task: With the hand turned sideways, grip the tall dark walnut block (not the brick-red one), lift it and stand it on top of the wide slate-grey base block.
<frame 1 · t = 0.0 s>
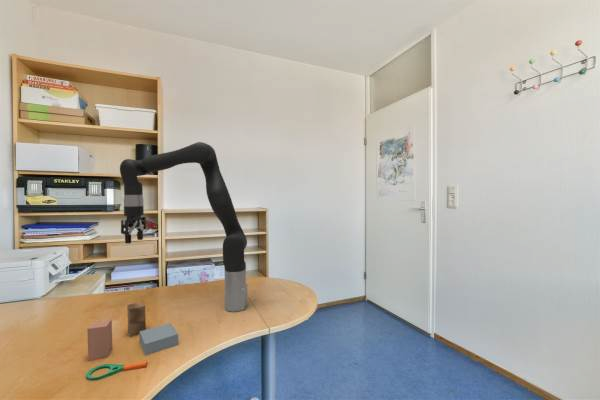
hand: (134, 241, 123), 29 cm above the table, tool pointing down, fingers open, 8 cm apart
slate base block: (158, 344, 95), on the table
brick-red block: (100, 354, 88), on the table
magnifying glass: (117, 372, 81), on the table
walnut block: (136, 331, 102), on the table
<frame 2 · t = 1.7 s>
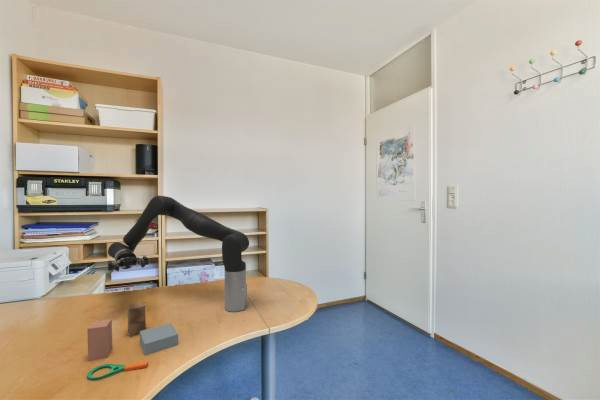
hand: (130, 266, 110), 22 cm above the table, tool horizontal, fingers open, 8 cm apart
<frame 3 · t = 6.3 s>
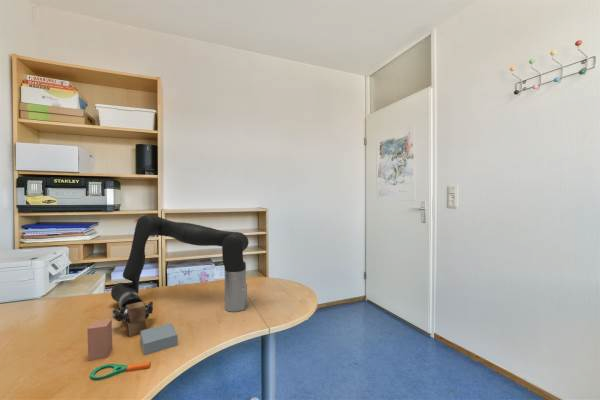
hand: (137, 318, 100), 6 cm above the table, tool horizontal, fingers closed on walnut block, 5 cm apart
walnut block: (136, 331, 102), on the table, touching gripper
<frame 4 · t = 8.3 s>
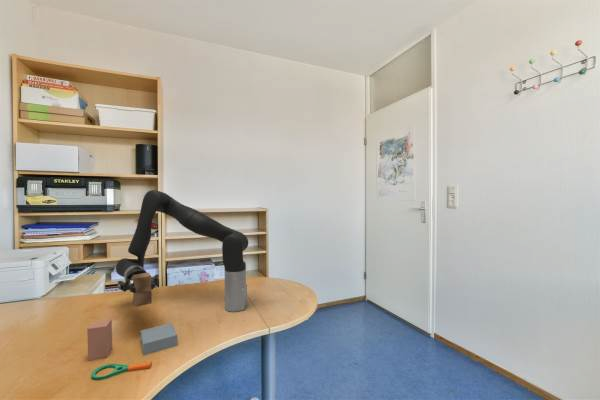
hand: (143, 288, 97), 18 cm above the table, tool horizontal, fingers closed on walnut block, 5 cm apart
walnut block: (142, 302, 100), point 12 cm above the table, touching gripper
when the fingers open (11 cm above the table, at t = 10.5 s): walnut block drops 2 cm, resting on slate base block.
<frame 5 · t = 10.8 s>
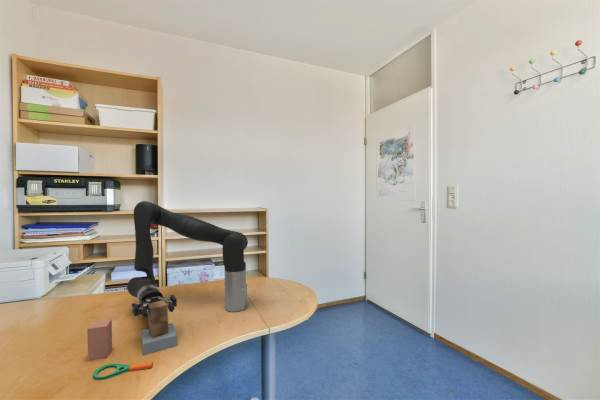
hand: (159, 312, 93), 12 cm above the table, tool horizontal, fingers open, 7 cm apart
slate base block: (158, 344, 95), on the table, touching walnut block
walnut block: (158, 332, 95), point 4 cm above the table, touching slate base block
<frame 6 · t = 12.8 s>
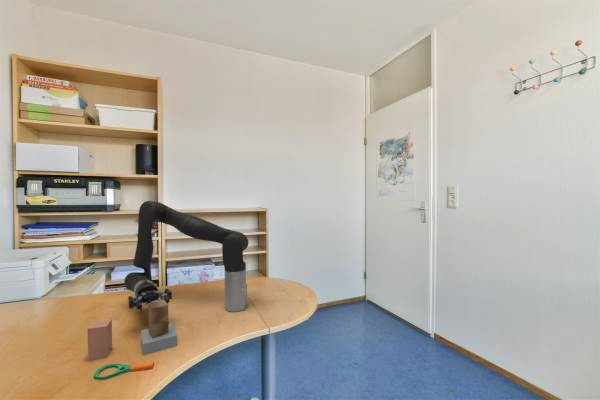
hand: (154, 304, 99), 11 cm above the table, tool horizontal, fingers open, 8 cm apart
slate base block: (158, 344, 95), on the table
walnut block: (158, 332, 95), point 4 cm above the table
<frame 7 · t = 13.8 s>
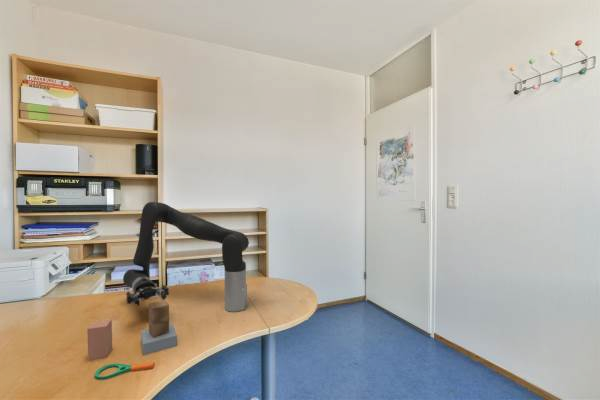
hand: (151, 299, 103), 12 cm above the table, tool horizontal, fingers open, 8 cm apart
slate base block: (158, 344, 95), on the table, touching walnut block
walnut block: (158, 332, 95), point 4 cm above the table, touching slate base block
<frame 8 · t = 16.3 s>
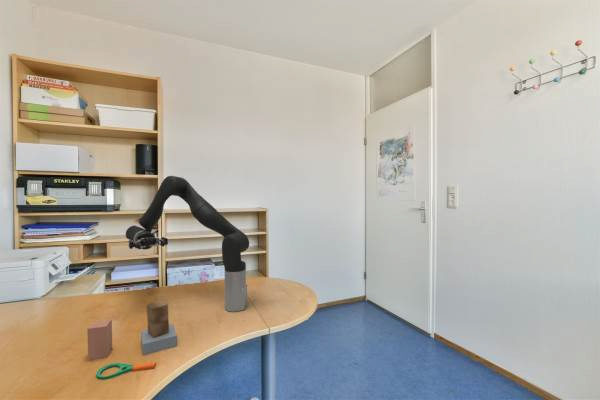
hand: (151, 245, 112), 30 cm above the table, tool horizontal, fingers open, 8 cm apart
at the end: walnut block 0.1 cm off-centre on the slate base block, point 4.1 cm above the slate base block's base; walnut block tilted 2°; the gripper is holding nothing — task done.
